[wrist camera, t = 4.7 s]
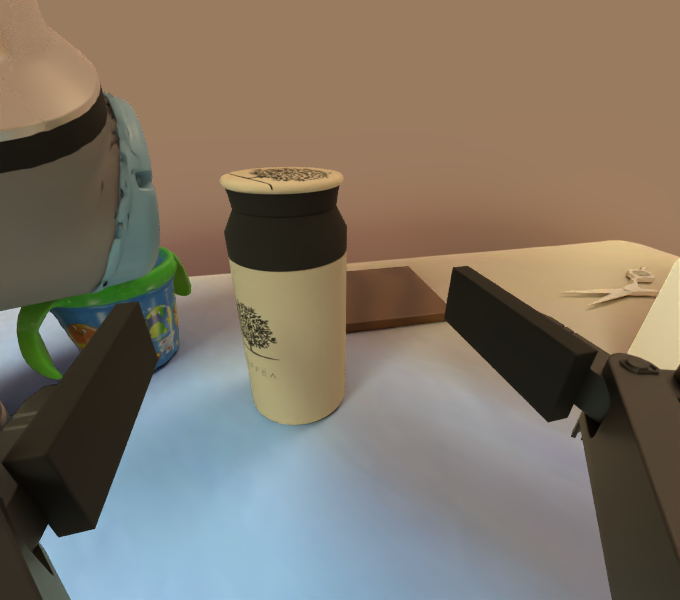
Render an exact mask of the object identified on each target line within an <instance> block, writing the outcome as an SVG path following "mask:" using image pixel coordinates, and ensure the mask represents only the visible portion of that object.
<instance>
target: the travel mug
mask: <svg viewBox="0 0 680 600" xmlns="http://www.w3.org/2000/svg"><path fill="white" fill-rule="evenodd" d="M342 182H343V176H342V174H341V173H339V172H337V171H333V170H328V169H321V168H307V167H273V168H257V169H248V170H241V171H235V172H231V173H228V174H225V175H223V176H222V177H221V178H220V184H221V186H223V187H224V188H225V190H226V192H227V194H228V197H229V201H230V204H231V207H232V211H231V214H230V217H229V220H228V223H227V225H226V228H225V231H224V233H225V239H226V245H227V251H228V256H229V263H230V268H231V274H232V280H233V285H234V291H235V297H236V303H237V308H238V314H239V320H240V326H241V331H242V337H243V343H244V348H245V354H246V360H247V366H248V371H249V377H250V383H251V388H252V394H253V400H254V403H255V406H256V408H257V409H258V410H259V412H260V413H261V414H262V415H264V416H265V417H266V418H268V419H270V420H272V421H274V422H278V423H281V424H287V425H301V424H307V423H311V422H315V421H318V420H320V419H322V418H324V417H326V416H327V415H329V414H330V413H332V412H333V411H334V410H335V409H336V408H337V407H338V406H339V404H340V403H341V401H342V399H343V397H344V394H345V356H346V254H347V251H346V248H347V247H346V246H347V243H346V242H347V226H346V224H345V222H344V220H343V218H342V216H341V214H340V212H339V210H338V208H337V206H336V203H337V195H338V189H339V185H340V184H341V183H342Z"/></svg>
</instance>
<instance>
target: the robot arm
mask: <svg viewBox="0 0 680 600" xmlns="http://www.w3.org/2000/svg"><path fill="white" fill-rule="evenodd" d="M159 245H160V225H159V211H158V204H157V197H156V191H155V188H154V186H153V184H152V171H151V162H150V157H149V152H148V149H147V144H146V141H145V137H144V134H143V131H142V128H141V125H140V123H139V120H138V118H137V116H136V114H135V112H134V110H133V108H132V107H131V105H130V104H129V103H127V102H126V101H125V100H123V99H122V98H119V97H114V96H113V95H111V94H110V93H107V94H105V92H102V88H101V85H100V81H99V77H98V74H97V71H96V69H95V67H94V66H93V64H92V63H91V62H90V61H89V59H88V58H87V57H86V56H85V55H84V54H82V53H81V52H80V51H79V50H78V49H76V48H75V47H74V46H73V45H71V44H70V43H69V42H68V41H66V40H65V39H64V38H63V37H61V36H60V35H59V34H58V33H56V32H55V31H54V30H53V29H51V28H50V27H49V26H48V25H46V24H45V22H44V21H43V18H42V15H41V12H40V9H39V6H38V4H37V1H36V0H0V311H3V310H8V309H13V308H18V307H22V306H27V305H32V304H37V303H42V302H47V301H52V300H57V299H62V298H67V297H72V296H77V295H81V294H86V293H96V292H99V291H101V290H103V289H104V288H106V287H109V286H113V285H117V284H120V283H124V282H128V281H131V280H135V279H138V278H141V277H143V276H145V275H146V274H148V273H149V272H150V271H151V269H152V268H153V267H154V265H155V263H156V261H157V258H158V254H159ZM444 319H445V320H446V321H447V322H448V323H449V324H450V325H451V326H452V327H453V328H454V329H455V330H456V331H457V332H458V333H459V334H460V335H461V336H462V337H463V338H464V339H465V340H466V341H467V342H468V343H469V344H470V345H471V346H472V347H473V348H474V349H475V350H476V351H477V352H478V353H479V354H480V355H481V356H482V357H483V358H484V359H485V360H486V361H487V362H488V363H489V364H490V365H491V366H492V367H493V368H494V369H495V370H496V371H497V372H498V373H499V374H500V375H501V376H502V377H503V378H504V379H505V380H506V381H507V382H508V383H509V384H510V385H511V386H512V387H513V388H514V389H515V390H516V391H517V392H518V393H519V394H520V395H521V396H522V397H523V398H524V399H525V400H526V401H527V402H528V403H529V404H530V405H531V406H532V407H533V408H534V409H535V410H536V411H537V412H538V413H539V414H540V415H541V416H542V417H543V418H544V419H545V420H546V421H547V422H552V421H556V420H560V419H564V418H567V417H568V415H569V413H570V411H571V409H572V407H573V405H574V404H575V405H576V406H577V407H578V408H580V409H581V410H582V413H581V415H580V417H579V419H578V421H577V423H576V425H575V427H574V429H573V431H572V435H571V437H573V438H575V437H576V435H577V433H578V432H580V431H581V434H582V438H581V440H583V445H584V450H585V456H586V461H587V466H588V472H589V477H590V483H591V488H592V494H593V499H594V505H595V510H596V515H597V521H598V526H599V532H600V537H601V543H602V548H603V554H604V559H605V564H606V570H607V575H608V581H609V586H610V592H611V597H612V600H680V364H679V366H678V367H677V369H676V370H665V369H659V368H658V367H657V366H655V365H654V364H652V363H651V362H649V361H646V360H644V359H642V358H640V357H636V356H633V355H630V354H622V353H617V354H612V355H610V354H608V353H607V352H605V351H603V350H602V349H600V348H599V347H597V346H596V345H594V344H593V343H591V342H589V341H588V340H586V339H585V338H583V337H582V336H580V335H578V334H577V333H574V331H572V330H571V329H569V328H568V327H564V325H563V324H561V323H560V322H558V321H557V320H555V319H553V318H552V317H549V316H547V315H544V314H542V313H539V312H538V311H536V310H535V309H533V308H532V307H530V306H529V305H527V304H525V303H524V302H522V301H521V300H519V299H518V298H516V297H515V296H513V295H512V294H510V293H509V292H507V291H505V290H504V289H502V288H501V287H499V286H498V285H496V284H495V283H493V282H492V281H490V280H489V279H487V278H485V277H484V276H482V275H481V274H479V273H478V272H476V271H475V270H473V269H472V268H470V267H469V266H462V267H453V270H452V275H451V281H450V287H449V293H448V298H447V304H446V310H445V316H444ZM157 362H158V357H157V354H156V351H155V348H154V345H153V342H152V339H151V336H150V333H149V330H148V327H147V325H146V322H145V319H144V316H143V313H142V310H141V307H140V304H139V301H137V302H128V303H119V304H115V306H114V307H113V308H112V310H111V311H110V313H109V314H108V315H107V317H106V318H105V320H104V321H103V322H102V324H101V325H100V326H99V328H98V329H97V331H96V332H95V333H94V335H93V336H92V337H91V339H90V340H89V342H88V343H87V344H86V346H85V347H84V349H83V350H82V351H81V353H80V354H79V355H78V357H77V358H76V360H75V361H74V362H73V364H72V365H71V366H70V368H69V369H68V371H67V372H66V373H65V375H64V376H63V378H62V379H61V380H60V382H59V383H58V384H56V385H49V386H44V387H42V388H41V389H40V390H38V391H37V392H36V393H34V394H33V395H32V396H31V397H29V398H28V399H27V400H25V401H24V403H23V404H22V405H21V406H20V408H19V409H18V410H17V411H16V413H15V414H14V415H13V419H12V417H11V415H10V414H9V412H8V411H7V410H6V408H5V407H4V405H3V404H2V402H1V401H0V600H71V599H70V597H69V595H68V594H67V592H66V590H65V588H64V586H63V584H62V582H61V580H60V578H59V576H58V574H57V572H56V570H55V569H54V567H53V565H52V563H51V561H50V559H49V557H48V555H47V553H46V551H45V549H44V548H43V547H42V546H41V544H40V543H39V541H40V539H41V537H42V535H43V533H44V531H45V529H46V527H47V525H48V524H49V526H50V527H51V528H52V530H53V531H54V532H55V533H56V535H57V536H58V537H62V536H66V535H71V534H75V533H79V532H83V531H88V530H92V529H95V527H96V525H97V522H98V519H99V517H100V514H101V511H102V509H103V506H104V503H105V501H106V498H107V495H108V493H109V490H110V487H111V485H112V482H113V479H114V477H115V474H116V471H117V469H118V466H119V463H120V461H121V458H122V455H123V453H124V450H125V447H126V445H127V442H128V439H129V437H130V434H131V431H132V428H133V426H134V423H135V420H136V418H137V415H138V412H139V410H140V407H141V404H142V402H143V399H144V396H145V394H146V391H147V388H148V386H149V383H150V380H151V378H152V375H153V372H154V370H155V367H156V364H157Z"/></svg>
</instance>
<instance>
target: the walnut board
mask: <svg viewBox="0 0 680 600" xmlns="http://www.w3.org/2000/svg"><path fill="white" fill-rule="evenodd" d="M445 310H446V303H445V302H444V301H443V300H442V299H441V298H440V297H439V296H438V295H437V294H436V293H435V292H434V291H433V290H432V289H431V288H430V287H429V286H428V285H427V284H426V283H425V282H424V281H423V280H422V279H421V278H420V277H419V276H418V275H417V274H416V273H415V272H414V271H413V270H412V269H411V268H409V267H408V266H405V267H394V268H382V269H370V270H359V271H347V272H346V333H347V332H356V331H364V330H372V329H381V328H389V327H397V326H405V325H414V324H422V323H430V322H439V321H446V320H445V319H444V316H445Z"/></svg>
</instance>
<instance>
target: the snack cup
mask: <svg viewBox="0 0 680 600" xmlns="http://www.w3.org/2000/svg"><path fill="white" fill-rule="evenodd" d="M174 293H175V294H177V295H181V296H187V295H189V294H190V293H191V284H190V281H189V278H188V276H187V273H186V271H185V269H184V267H183V265H182V263H181V262H180V260H179V258H178V257H177V256H176V255H175V254H174V253H173V252H171V251H169V250H168V249H166V248H163V247H160V246H159V254H158V258H157V261H156V263H155V265H154V267H153V268H152V269H151V271H150V272H149V273H148V274H146V275H145V276H143V277H141V278H138V279H135V280H131V281H128V282H124V283H120V284H117V285H113V286H109V287H106V288H104V289H103V290H101V291H99V292H96V293H86V294H81V295H77V296H72V297H67V298H62V299H57V300H52V301H47V302H42V303H37V304H32V305H27V306H22V307H21V309H20V313H19V315H18V321H17V337H18V343H19V347H20V350H21V353H22V356H23V358H24V359H25V361H26V363H27V364H28V365H29V366H30V367H31V368H32V369H33V370H35V371H36V372H38V373H39V374H41V375H43V376H45V377H47V378H52V379H57V380H58V379H61V378H63V376H62V374H61V373H60V372H59V371H58V370H57V369H56V368H55V366H54V364H53V361H52V359H51V357H50V355H49V353H48V351H47V349H46V347H45V344H44V342H43V340H42V338H41V336H40V334H39V332H38V331H39V327H40V326H41V324H42V322H43V320H44V318H45V317H46V314H47V313H48V312H49V311H50V312H51V313H52V314H53V315H54V316H55V317H56V318H57V319H58V321H59V323H60V325H61V326H62V327H63V329H65V331H66V332H67V334H68V336H69V337H70V339H71V340H72V341H73V342H74V343H75V345H76V346H77V348H78V349H79V351H80V352H81V351H82V350H83V349H84V347H85V346H86V344H87V343H88V342H89V340H90V339H91V337H92V336H93V335H94V333H95V332H96V331H97V329H98V328H99V326H100V325H101V324H102V322H103V321H104V320H105V318H106V317H107V315H108V314H109V313H110V311H111V310H112V308H113V307H114V306H115V304H119V303H128V302H137V301H139V304H140V307H141V310H142V313H143V316H144V319H145V322H146V325H147V327H148V330H149V333H150V336H151V339H152V342H153V345H154V348H155V351H156V354H157V357H158V362H157V364H156V367H155V370H156V369H157V367H159V366H161V365H162V364H164V363H166V362H167V361H168V360H169V359H170V358H171V357H172V356H173V354H174V352H176V351H177V350H178V349H179V331H178V319H177V308H176V298H175V294H174Z"/></svg>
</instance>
